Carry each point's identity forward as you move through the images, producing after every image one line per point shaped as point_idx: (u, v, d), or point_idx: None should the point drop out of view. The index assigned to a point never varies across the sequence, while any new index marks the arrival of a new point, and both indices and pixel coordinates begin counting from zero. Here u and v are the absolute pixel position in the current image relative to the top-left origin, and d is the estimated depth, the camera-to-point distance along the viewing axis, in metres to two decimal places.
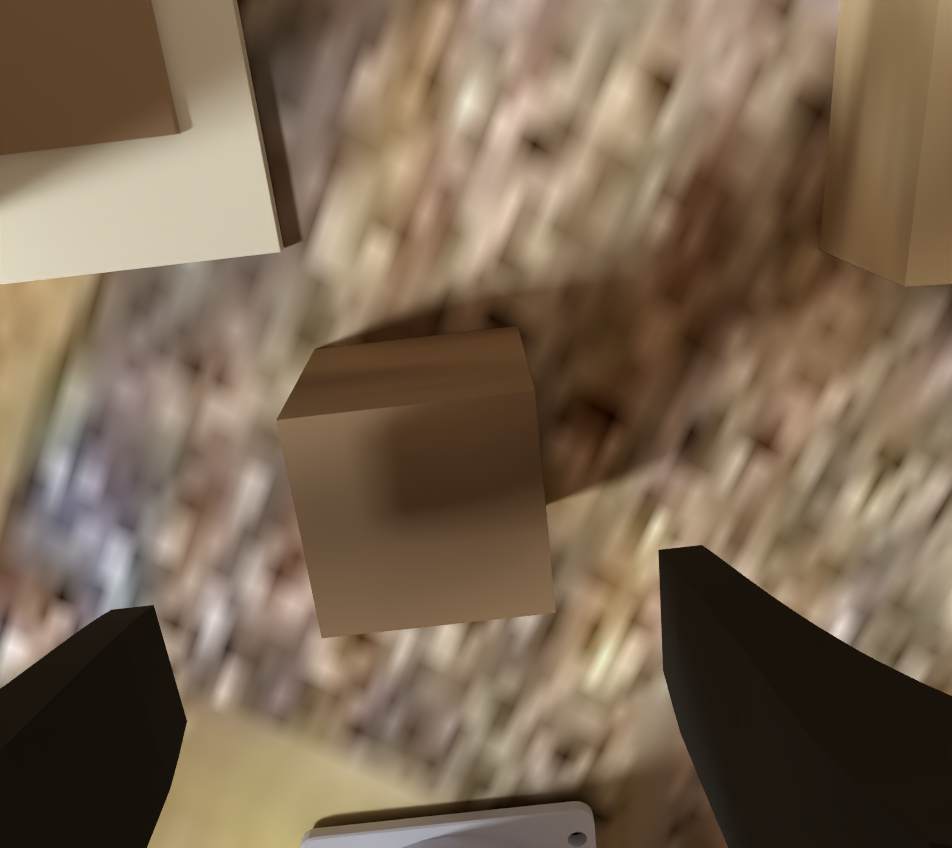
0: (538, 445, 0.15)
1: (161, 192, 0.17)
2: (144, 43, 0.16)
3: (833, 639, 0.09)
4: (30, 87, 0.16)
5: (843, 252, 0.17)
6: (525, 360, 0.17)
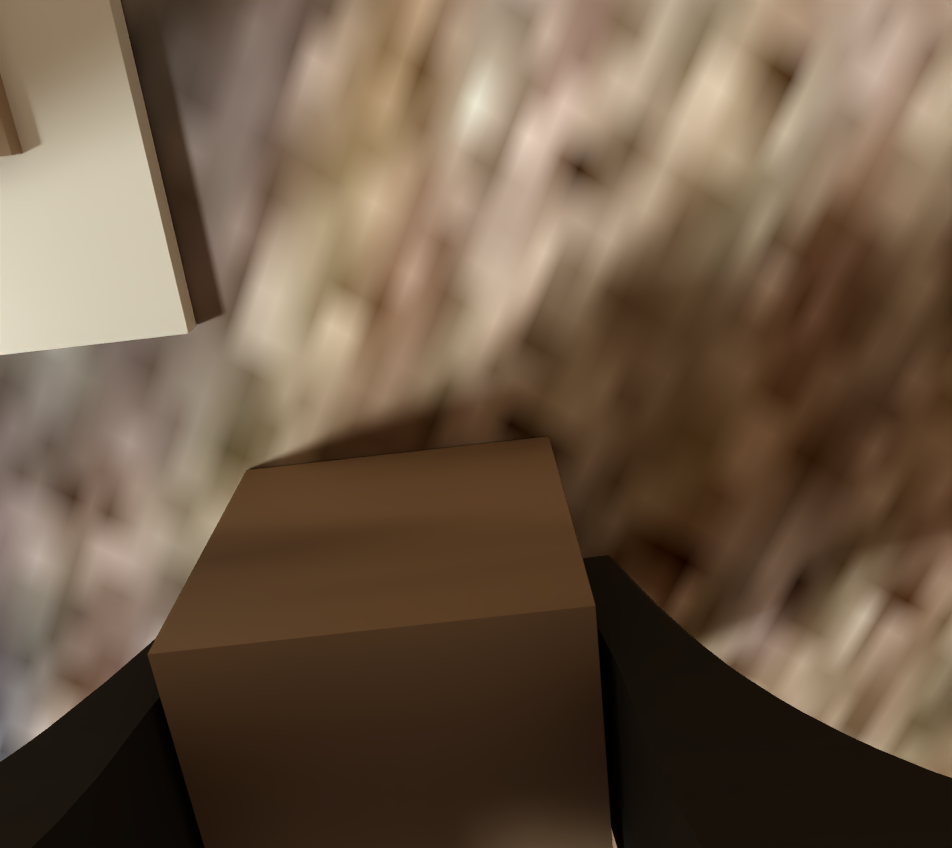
0: (598, 690, 0.09)
1: None
2: None
3: (706, 653, 0.09)
4: None
5: None
6: (569, 521, 0.10)
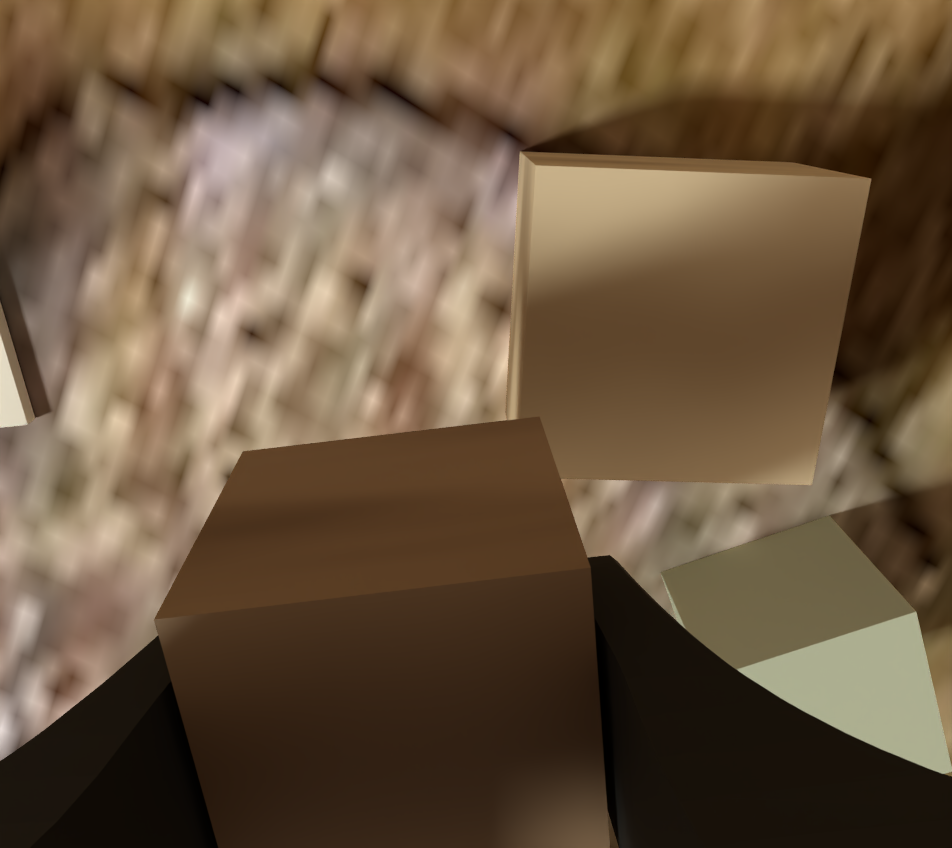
0: (593, 650, 0.09)
1: None
2: None
3: (708, 653, 0.09)
4: None
5: None
6: (562, 492, 0.11)
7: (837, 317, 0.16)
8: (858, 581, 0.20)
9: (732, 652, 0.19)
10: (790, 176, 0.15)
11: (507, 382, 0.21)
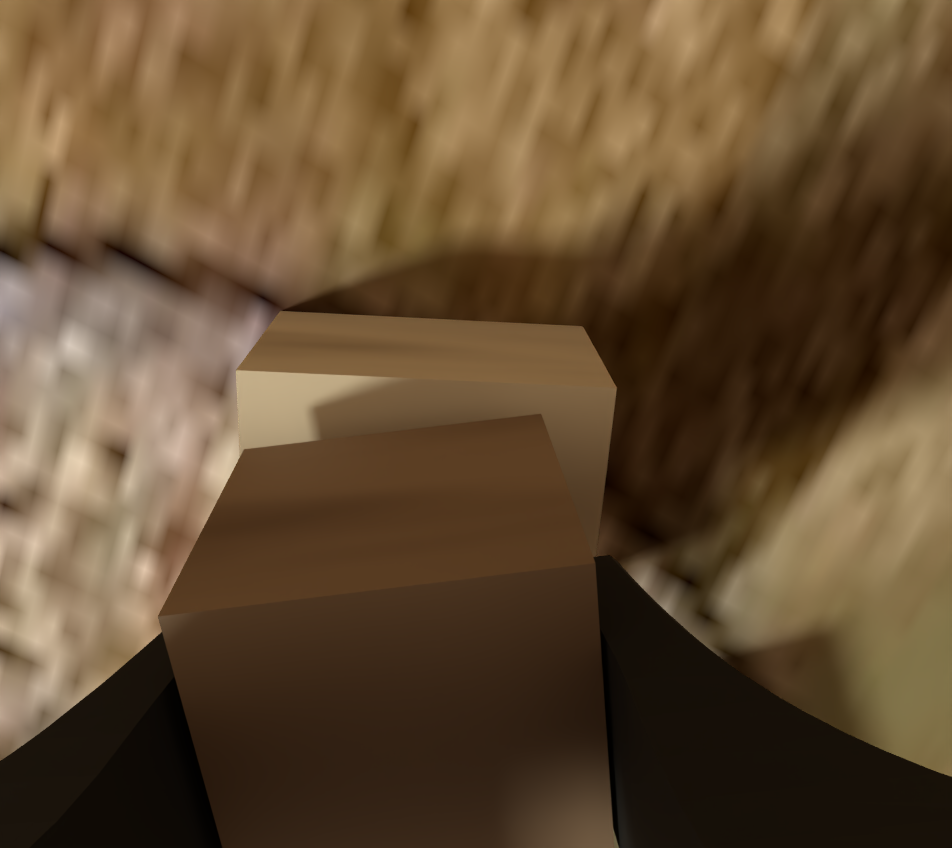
0: (598, 646, 0.09)
1: None
2: None
3: (708, 652, 0.09)
4: None
5: None
6: (566, 489, 0.11)
7: (591, 528, 0.15)
8: None
9: None
10: (525, 385, 0.14)
11: None
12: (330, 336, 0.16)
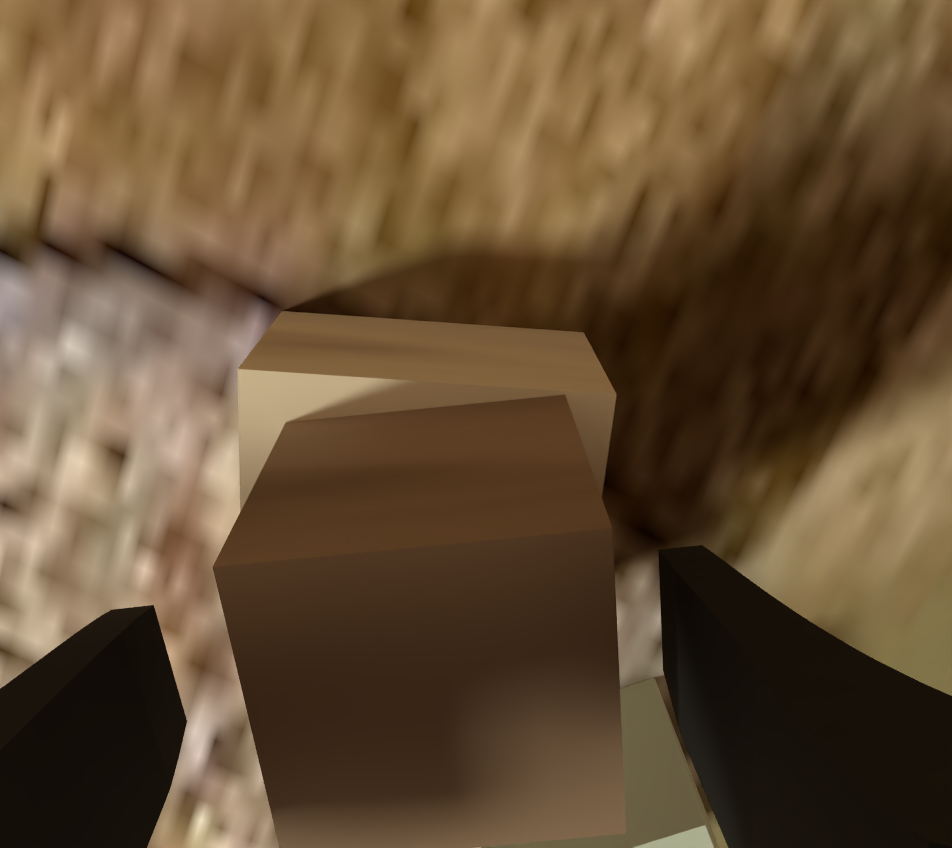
0: (613, 606, 0.10)
1: None
2: None
3: (833, 639, 0.09)
4: None
5: None
6: (587, 463, 0.11)
7: None
8: (659, 773, 0.18)
9: None
10: (525, 389, 0.14)
11: None
12: (332, 337, 0.16)
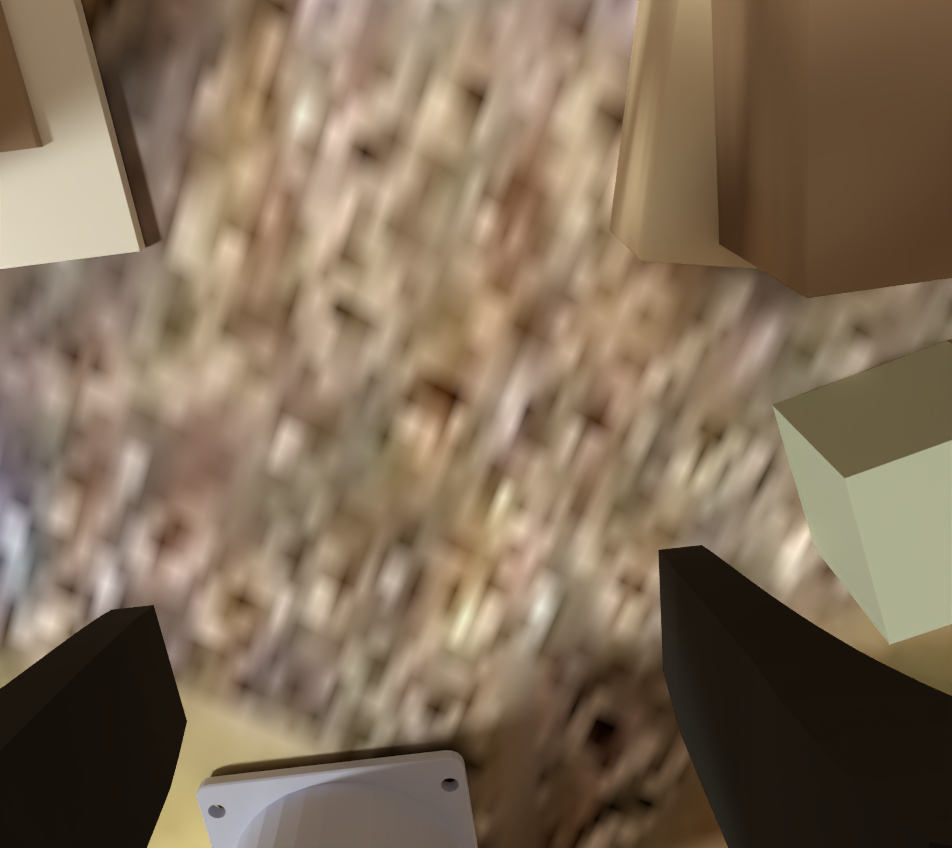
0: None
1: (29, 199, 0.20)
2: (3, 67, 0.18)
3: (833, 639, 0.09)
4: None
5: (619, 231, 0.19)
6: None
7: None
8: None
9: (867, 455, 0.19)
10: None
11: (614, 196, 0.20)
12: None
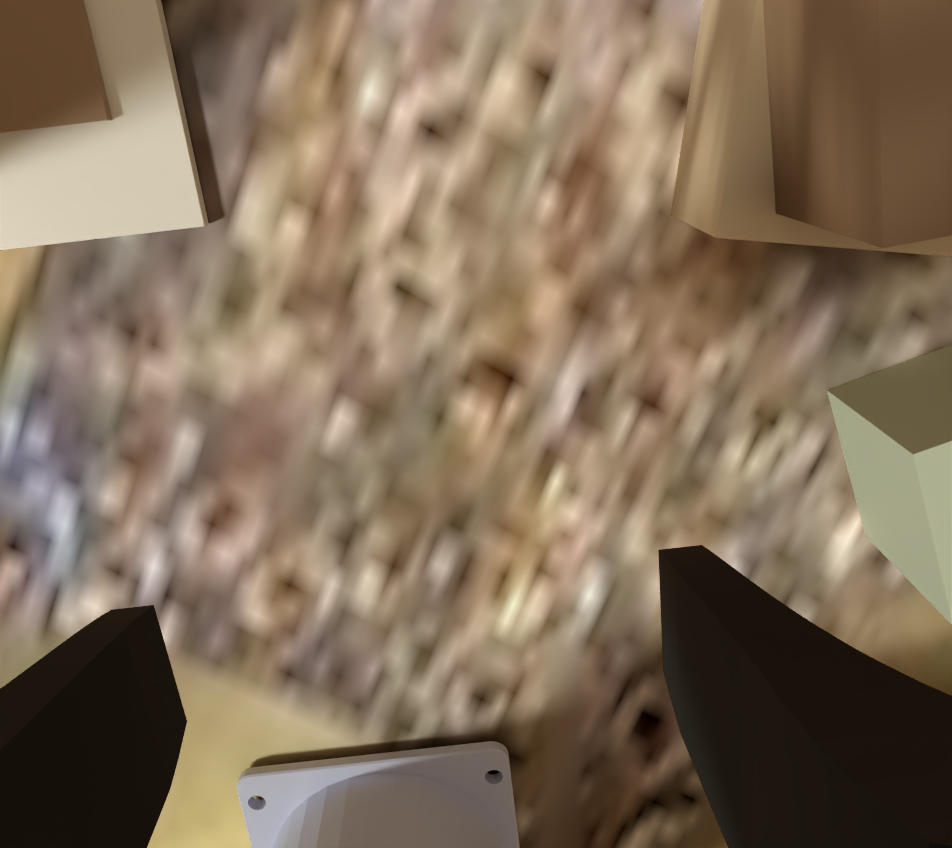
0: None
1: (96, 172, 0.20)
2: (78, 39, 0.18)
3: (833, 639, 0.09)
4: None
5: (684, 215, 0.20)
6: None
7: None
8: None
9: (933, 432, 0.19)
10: None
11: (676, 182, 0.20)
12: None
